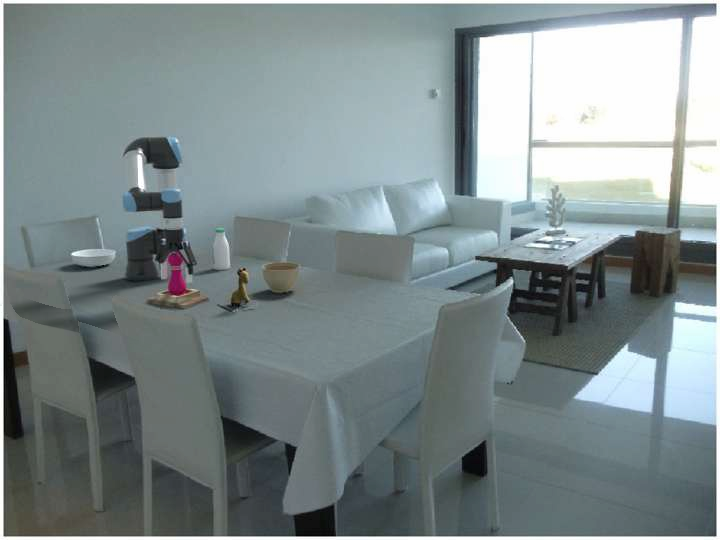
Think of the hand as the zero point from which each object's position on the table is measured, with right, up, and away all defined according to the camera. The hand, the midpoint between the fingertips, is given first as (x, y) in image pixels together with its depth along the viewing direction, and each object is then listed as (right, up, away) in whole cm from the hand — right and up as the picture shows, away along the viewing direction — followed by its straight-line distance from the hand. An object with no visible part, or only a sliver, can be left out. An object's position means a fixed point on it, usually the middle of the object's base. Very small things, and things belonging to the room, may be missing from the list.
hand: (176, 280), depth 272 cm
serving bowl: (-61, +6, +71) cm, 94 cm away
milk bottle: (+5, +5, +63) cm, 63 cm away
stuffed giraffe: (+27, -10, -3) cm, 29 cm away
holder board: (0, -8, +2) cm, 9 cm away
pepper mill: (0, -7, +2) cm, 7 cm away
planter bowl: (+40, -5, +19) cm, 45 cm away
